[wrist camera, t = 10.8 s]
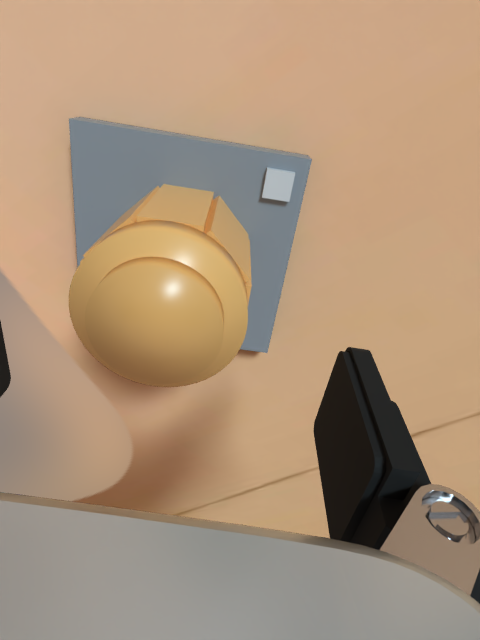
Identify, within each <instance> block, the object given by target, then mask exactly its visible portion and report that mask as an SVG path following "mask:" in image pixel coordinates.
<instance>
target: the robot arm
mask: <svg viewBox="0 0 480 640" xmlns="http://www.w3.org/2000/svg"><path fill="white" fill-rule="evenodd" d="M10 379H11V377H10V370H9V365H8V359H7V354H6V349H5V343H4V338H3V332H2V328H1V322H0V397H1V396H2V395H3V393H4V392H5V391H6V390H7V388H8V386H9V384H10ZM314 437H315V444H316V450H317V457H318V463H319V470H320V476H321V482H322V489H323V495H324V502H325V508H326V515H327V521H328V528H329V534H330V539H329V538H324V537H318V536H311V535H305V534H299V533H292V532H286V531H280V530H273V529H267V528H260V527H254V526H246V525H239V524H232V523H225V522H218V521H210V520H203V519H196V518H189V517H182V516H175V515H167V514H160V513H153V512H146V511H138V510H131V509H123V508H116V507H108V506H101V505H94V504H86V503H79V502H71V501H64V500H56V499H48V498H41V497H33V496H26V495H18V494H11V493H2V492H0V640H480V511H479V510H478V509H477V508H476V507H475V506H474V505H473V504H472V503H471V502H470V501H469V500H468V499H466V498H465V497H464V496H463V495H461V494H460V493H458V492H456V491H454V490H452V489H450V488H448V487H444V486H441V485H434V484H431V482H430V480H429V478H428V475H427V473H426V471H425V468H424V466H423V464H422V461H421V459H420V457H419V454H418V452H417V450H416V447H415V445H414V443H413V440H412V438H411V436H410V433H409V431H408V429H407V426H406V424H405V422H404V419H403V417H402V415H401V412H400V410H399V408H398V406H397V404H396V403H395V402H393V401H391V400H390V397H389V395H388V393H387V390H386V388H385V385H384V383H383V381H382V378H381V376H380V373H379V371H378V369H377V366H376V364H375V361H374V359H373V357H372V354H371V352H370V351H369V350H365V349H358V348H351V347H348V348H347V349H346V351H345V352H343V351H340V352H339V354H338V356H337V359H336V362H335V365H334V367H333V370H332V373H331V376H330V379H329V382H328V385H327V388H326V390H325V393H324V396H323V399H322V402H321V405H320V408H319V411H318V414H317V416H316V419H315V423H314Z"/></svg>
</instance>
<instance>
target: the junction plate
mask: <svg viewBox="0 0 480 640" xmlns="http://www.w3.org/2000/svg"><path fill="white" fill-rule="evenodd" d="M69 126H70V144H71V161H72V178H73V195H74V213H75V230H76V247H77V265H78V266H79V265H80V261H81V260H82V259H83V258H84V256H83V255H84V254H85V253H86V252H87V251H88V250H89V248H90V247H91V246H92V245H93V244H94V243H95V242H96V241H97V240H98V239H99V238H100V237H101V236H102V235H103V234H104V233H105V232H106V231H107V230H108V229H109V228H110V227H111V226H112V225H113V224H114V223H115V222H116V221H117V220H118V219H119V218H120V217H121V216H122V215H123V214H124V213H125V212H126V211H128V210H129V209H130V208H131V207H132V206H134V205H135V204H136V203H137V202H138V201H140V200H141V199H142V198H143V197H145V196H146V195H147V194H148V193H149V192H151V191H152V190H153V189H154V188H155V187H157V186H159V187H160V188H161V186H162V185H163V184H167V185H173V186H180V187H186V188H192V189H199V190H205V191H211V192H214V196H213V200H214V199H215V198H216V197H217V196H219V195H220V197H221V198H222V200H223V201H224V202H225V204H226V205H227V206H228V208H229V209H230V210H231V212H232V213H233V214H234V216H235V217H236V218H237V220H238V221H239V222H240V224H241V225H242V226H243V228H244V229H245V230H246V232H247V233H248V235H249V240H250V258H251V284H252V287H251V292H250V297H249V303H248V324H247V331H246V335H245V339H244V341H243V343H242V346H241V348H240V349H243V350H250V351H258V352H265V353H267V352H268V347H269V343H270V339H271V334H272V330H273V326H274V321H275V317H276V313H277V308H278V304H279V299H280V295H281V291H282V286H283V282H284V278H285V273H286V269H287V265H288V260H289V256H290V252H291V247H292V243H293V239H294V234H295V230H296V226H297V221H298V217H299V213H300V208H301V204H302V200H303V195H304V191H305V187H306V182H307V178H308V174H309V169H310V165H311V161H312V159H311V158H310V157H309V156H308V155H303V154H297V153H291V152H285V151H279V150H273V149H267V148H261V147H255V146H250V145H244V144H238V143H232V142H226V141H220V140H214V139H208V138H202V137H196V136H190V135H184V134H178V133H173V132H167V131H161V130H155V129H149V128H143V127H137V126H131V125H125V124H119V123H113V122H107V121H101V120H96V119H90V118H84V117H76V118H70V119H69Z"/></svg>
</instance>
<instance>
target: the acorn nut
mask: <svg viewBox="0 0 480 640" xmlns="http://www.w3.org/2000/svg"><path fill="white" fill-rule="evenodd" d="M213 196H214V192H211V191H205V190H199V189H192V188H186V187H180V186H173V185H167V184H163V185H162V186H161V188H160V187H159V186H157V187H155V188H154V189H153V190H152V191H151V192H149V193H148V194H147V195H146V196H145V197H143V198H142V199H141V200H140V201H138V202H137V203H136V204H135V205H134V206H132V207H131V208H130V209H129V210H128V211H126V212H125V213H124V214H123V215H122V216H121V217H120V218H119V219H118V220H117V221H116V222H115V223H114V224H113V225H112V226H111V227H110V228H109V229H108V230H107V231H106V232H105V233H104V234H103V235H102V236H101V237H100V238H99V239H98V240H97V241H96V242H95V243H94V244H93V245H92V246H91V247H90V248H89V250H88V251H87V252H86V253H85V254H84V255H83V256H84V258H83V259H82V260H81V261H80V265H79V266H78V268H77V270H76V272H75V274H74V276H73V279H72V282H71V285H70V291H69V311H70V317H71V320H72V323H73V326H74V329H75V331H76V333H77V335H78V337H79V339H80V340H81V342H82V343H83V345H84V346H85V347H86V349H87V350H88V351H89V352H90V353H91V354H92V355H93V356H94V357H95V358H96V359H97V360H98V361H99V362H100V363H101V364H103V365H104V366H105V367H106V368H108V369H110V370H111V371H113V372H114V373H116V374H118V375H120V376H122V377H124V378H126V379H129V380H132V381H134V382H138V383H141V384H145V385H150V386H157V387H178V386H186V385H190V384H194V383H197V382H200V381H203V380H206V379H207V378H209V377H211V376H213V375H215V374H216V373H218V372H219V371H221V370H222V369H223V368H225V367H226V366H227V365H228V364H229V363H230V362H231V361H232V359H233V358H234V357H235V356H236V354H237V353H238V351H239V350H240V348H241V346H242V343H243V341H244V339H245V335H246V331H247V324H248V303H249V297H250V292H251V287H252V284H251V258H250V240H249V235H248V233H247V232H246V230H245V229H244V228H243V226H242V225H241V224H240V222H239V221H238V220H237V218H236V217H235V216H234V214H233V213H232V212H231V210H230V209H229V208H228V206H227V205H226V204H225V202H224V201H223V200H222V198H221V197H220V195H219V196H217V197H216V198H215V199H214V200H213Z"/></svg>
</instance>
